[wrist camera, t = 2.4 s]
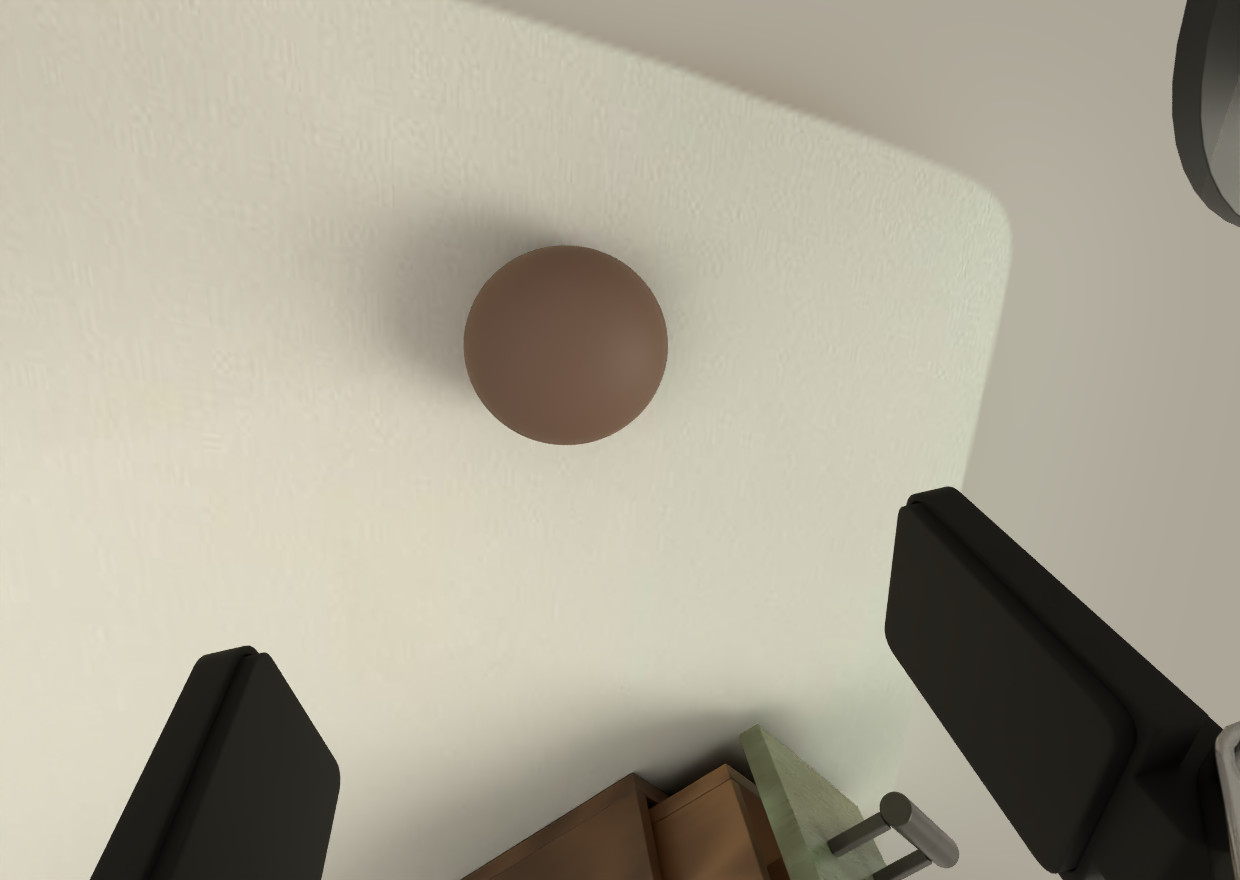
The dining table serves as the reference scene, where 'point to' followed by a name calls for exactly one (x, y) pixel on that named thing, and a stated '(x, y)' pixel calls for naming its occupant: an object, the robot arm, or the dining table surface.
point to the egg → (565, 345)
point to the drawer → (785, 825)
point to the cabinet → (589, 841)
